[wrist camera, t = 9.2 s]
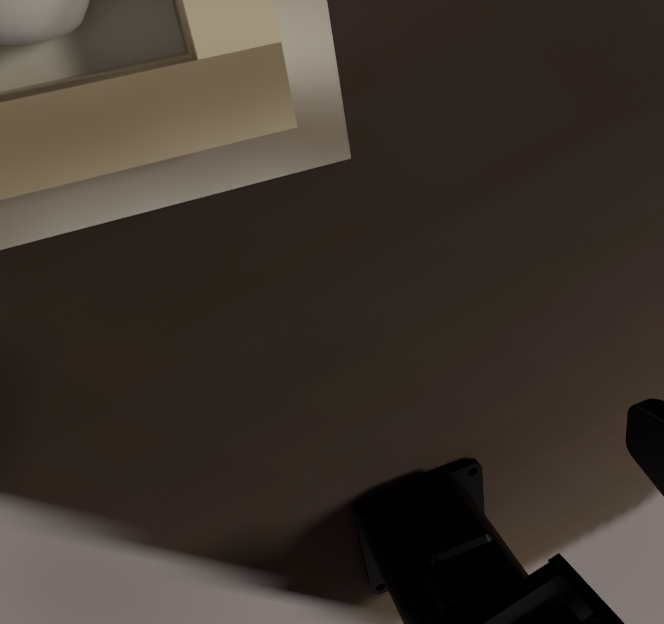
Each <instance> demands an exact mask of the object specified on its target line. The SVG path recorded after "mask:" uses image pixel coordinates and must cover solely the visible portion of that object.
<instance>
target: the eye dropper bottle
mask: <svg viewBox="0 0 664 624" xmlns="http://www.w3.org/2000/svg"><path fill="white" fill-rule="evenodd" d="M89 3H90V0H0V44H2V45H30V44H36V43H40V42H44V41H48V40H52V39H55V38H58V37H61V36H64V35H66V34H69V33H71V32H73V31H74V30H75V29H76V28H77V27H78V26H79V25H80V24H81V23H82V21H83V19H84V16H85V14H86V12H87V9H88V6H89Z"/></svg>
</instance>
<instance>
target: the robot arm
mask: <svg viewBox="0 0 664 624" xmlns="http://www.w3.org/2000/svg"><path fill="white" fill-rule="evenodd" d="M626 445H627V448H628V451H629V453H630V454H631V456H632V457H633V459H634V460H635V461H636V462H637V464H638V465H639V466H640V467H641V469H642V470H643V471H644V472H645V474H646V475H647V476H648V477H649V479H650V480H651V481H652V482H653V484H654V485H655V486H656V487H657V489H658V490H659V491H660V492H661V494H662V495H663V496H664V401H662V400H659V399H653V398H652V399H647V400H644V401H642V402H639V403H637V404H634V405H632V406H631V407H630V408H629V410H628V415H627V429H626ZM365 509H366V510H365ZM363 510H364V511H363ZM353 514H354V519H355V523H356V528H357V533H358V537H359V542H360V546H361V551H362V556H363V560H364V565H365V569H366V574H367V579H368V583H369V586H370V588H371V591H372V592H373V593H374V594H381V593H384V592H386V591H389V593H390V595H391V597H392V599H393V602H394V604H395V606H396V608H397V610H398V612H399V615H400V617H401V619H402V621H403V623H404V624H624V623H623V622H622V620H621V619H620V618H619V617H618V616H617V615H616V614H615V613H614V612H613V611H612V610H611V608H610V607H608V605H607V604H606V603H605V602H604V601H603V600H602V599H601V598H600V597H599V596H598V595H597V593H596V592H595V591H594V590H593V589H592V588H591V587H590V586H589V585H588V584H587V583H586V582H585V581H584V579H583V578H582V577H581V576H580V575H579V574H578V573H577V572H576V571H575V570H574V569H573V568H572V567H571V565H570V564H569V563H568V562H567V561H566V560H565V559H564V558H563V557H562V556H561V555H560V554H559V553H558V554H557V555H555V556H554V557H552V558H550V559H549V560H548V562H549V563H547V564H546V565H544V566H543V567H541V568H539V569H538V570H536V571H535V572H533V573H532V574H530V575H528V574H527V572H526V571H525V570H524V568H523V567H522V565H521V564H520V563H519V561H518V560H517V558H516V557H515V556H514V554H513V553H512V552H511V550H510V549H509V547H508V546H507V545H506V543H505V542H504V540H503V539H502V538H501V536H500V535H499V534H498V532H497V531H496V529H495V528H494V527H493V525H492V524H491V522H490V521H489V520H488V518H487V517H486V516H485V514H484V496H483V477H482V467H481V465H480V464H479V462H478V461H477V460H476V459H473V458H470V459H467V460H464V461H461V462H459V463H456V464H453V465H451V466H448V467H446V468H443V469H440V470H438V471H435V472H432V473H430V474H427V475H424V476H422V477H419V478H417V479H414V480H411V481H409V482H406V483H403V484H401V485H398V486H395V487H393V488H390V489H388V490H385V491H382V492H380V493H377V494H374V495H372V496H369V497H367V498H364V499H361V500H359V501H358V502H357V503H355V505H354V506H353Z"/></svg>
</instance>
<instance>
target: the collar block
mask: <svg viewBox="0 0 664 624" xmlns="http://www.w3.org/2000/svg"><path fill="white" fill-rule="evenodd" d="M350 158H351V155H350V149H349V142H348V135H347V129H346V122H345V116H344V109H343V103H342V96H341V90H340V83H339V77H338V70H337V64H336V57H335V50H334V44H333V37H332V31H331V24H330V18H329V11H328V5H327V0H90V3H89V6H88V9H87V12H86V14H85V16H84V19H83V21H82V23H81V24H80V25H79V26H78V27H77V28H76V29H75V30H74V31H73V32H71V33H69V34H66V35H64V36H61V37H58V38H55V39H52V40H48V41H44V42H40V43H36V44H30V45H2V44H0V250H2V249H6V248H10V247H13V246H17V245H21V244H25V243H29V242H33V241H36V240H40V239H44V238H48V237H52V236H55V235H59V234H63V233H67V232H71V231H75V230H78V229H82V228H86V227H90V226H94V225H98V224H101V223H105V222H109V221H113V220H117V219H121V218H124V217H128V216H132V215H136V214H140V213H144V212H147V211H151V210H155V209H159V208H163V207H166V206H170V205H174V204H178V203H182V202H186V201H189V200H193V199H197V198H201V197H205V196H209V195H212V194H216V193H220V192H224V191H228V190H232V189H235V188H239V187H243V186H247V185H251V184H255V183H258V182H262V181H266V180H270V179H274V178H277V177H281V176H285V175H289V174H293V173H297V172H300V171H304V170H308V169H312V168H316V167H320V166H323V165H327V164H331V163H335V162H339V161H343V160H346V159H350Z"/></svg>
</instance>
